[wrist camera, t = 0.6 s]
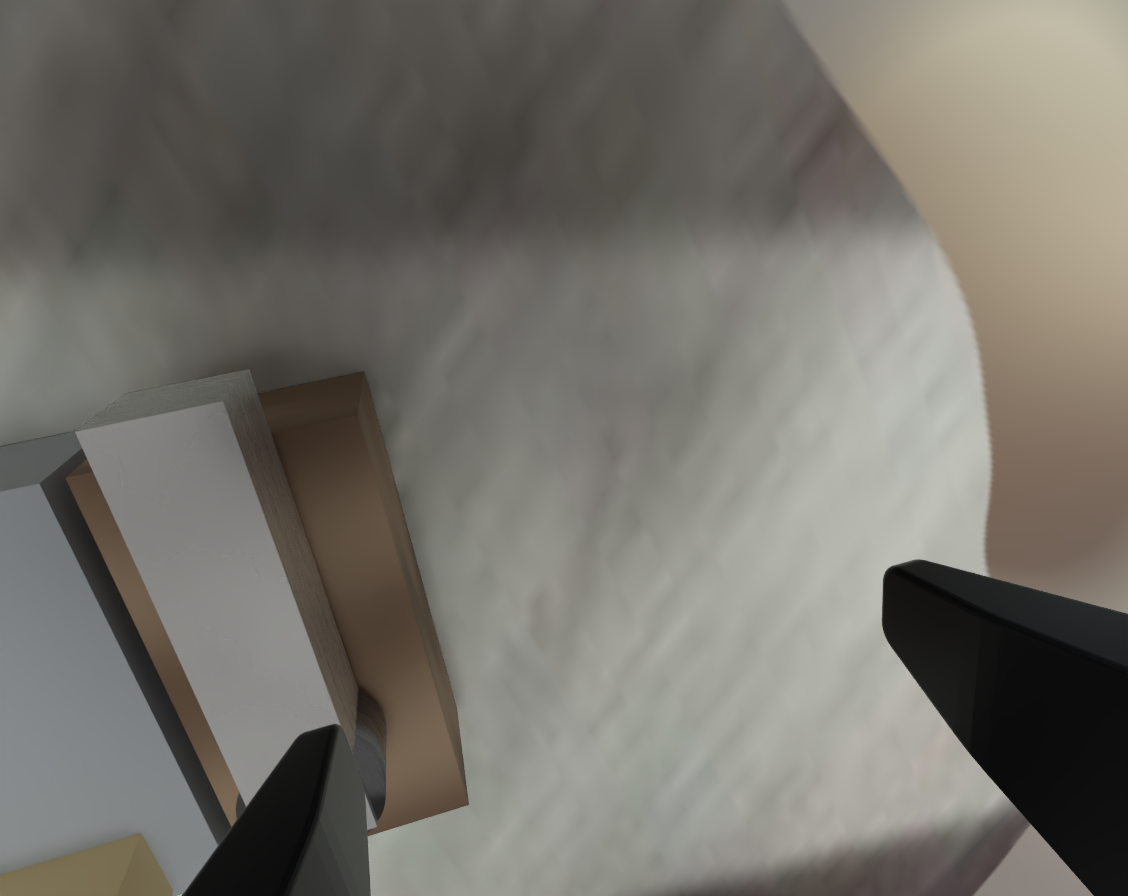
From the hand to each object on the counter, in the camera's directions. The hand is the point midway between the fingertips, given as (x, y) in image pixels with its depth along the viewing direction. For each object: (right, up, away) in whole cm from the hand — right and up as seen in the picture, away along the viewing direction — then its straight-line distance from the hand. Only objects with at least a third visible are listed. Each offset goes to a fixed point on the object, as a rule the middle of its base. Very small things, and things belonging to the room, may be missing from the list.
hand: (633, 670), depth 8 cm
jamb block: (-8, -1, +13) cm, 15 cm away
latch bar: (-8, -1, +8) cm, 11 cm away
